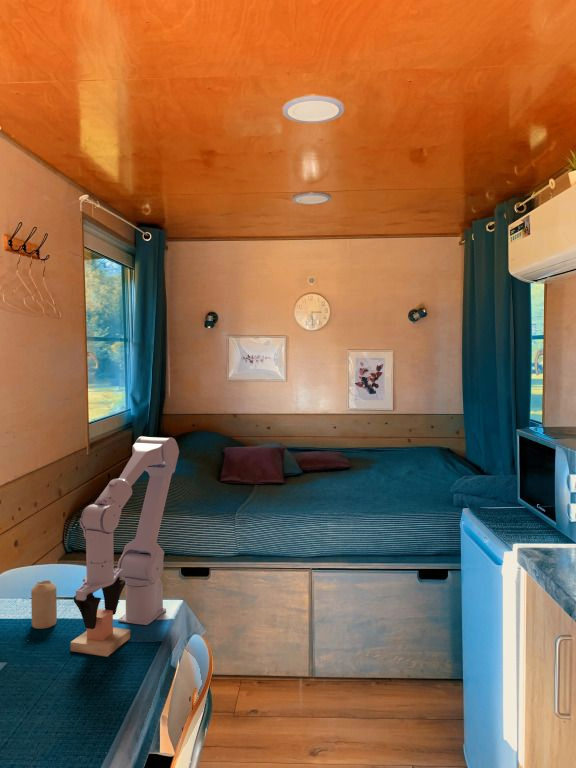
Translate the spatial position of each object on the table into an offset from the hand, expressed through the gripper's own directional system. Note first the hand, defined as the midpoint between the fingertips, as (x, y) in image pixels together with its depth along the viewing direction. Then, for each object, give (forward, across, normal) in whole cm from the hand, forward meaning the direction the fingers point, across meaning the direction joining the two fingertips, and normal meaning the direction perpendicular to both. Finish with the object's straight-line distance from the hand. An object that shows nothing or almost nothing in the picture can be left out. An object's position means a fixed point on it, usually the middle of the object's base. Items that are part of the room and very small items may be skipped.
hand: (100, 620), depth 132 cm
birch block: (+6, 0, 0) cm, 6 cm away
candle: (+5, -5, -19) cm, 20 cm away
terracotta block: (+3, 0, 0) cm, 3 cm away
